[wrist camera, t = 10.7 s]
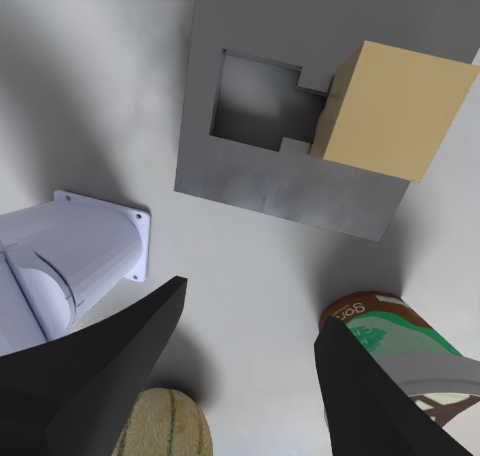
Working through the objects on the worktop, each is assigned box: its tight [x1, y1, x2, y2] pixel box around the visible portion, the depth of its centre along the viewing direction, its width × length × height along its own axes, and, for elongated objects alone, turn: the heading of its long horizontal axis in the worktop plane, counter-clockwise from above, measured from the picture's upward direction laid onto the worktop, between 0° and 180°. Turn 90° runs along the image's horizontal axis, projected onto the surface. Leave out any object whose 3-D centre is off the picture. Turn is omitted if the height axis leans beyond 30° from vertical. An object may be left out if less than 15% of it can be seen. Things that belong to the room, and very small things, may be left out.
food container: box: [319, 291, 480, 429], centre depth 18 cm, size 12×6×10 cm, turn 151°
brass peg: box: [309, 40, 480, 183], centre depth 13 cm, size 5×5×8 cm
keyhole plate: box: [174, 0, 480, 242], centre depth 16 cm, size 16×14×3 cm
